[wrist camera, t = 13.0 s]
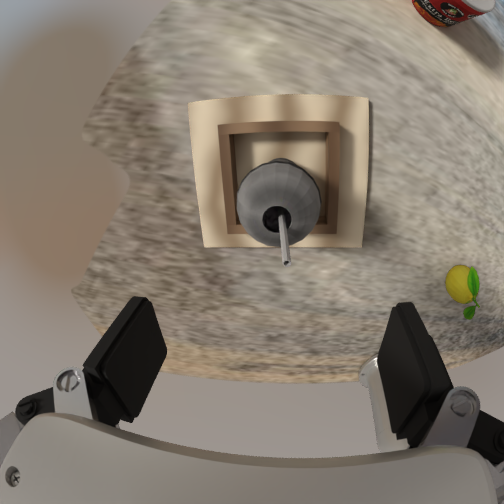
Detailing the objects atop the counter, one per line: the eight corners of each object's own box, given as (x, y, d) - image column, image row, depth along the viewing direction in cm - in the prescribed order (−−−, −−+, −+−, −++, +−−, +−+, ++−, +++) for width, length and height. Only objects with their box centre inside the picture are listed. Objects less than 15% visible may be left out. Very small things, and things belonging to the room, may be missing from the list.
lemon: (448, 293, 39) (472, 330, 30) (430, 280, 38) (455, 318, 30) (472, 264, 36) (501, 298, 27) (455, 248, 35) (486, 282, 27)
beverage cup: (285, 134, 31) (283, 158, 13) (322, 180, 33) (360, 259, 15) (240, 171, 34) (186, 239, 16) (277, 214, 36) (265, 317, 18)
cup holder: (366, 98, 28) (375, 96, 25) (359, 244, 37) (366, 257, 34) (190, 103, 31) (179, 102, 28) (206, 244, 40) (198, 257, 37)
